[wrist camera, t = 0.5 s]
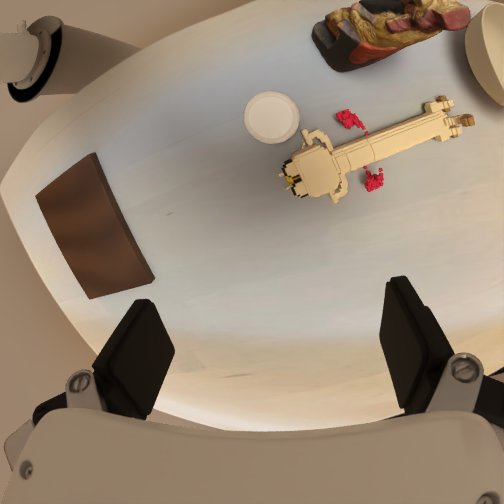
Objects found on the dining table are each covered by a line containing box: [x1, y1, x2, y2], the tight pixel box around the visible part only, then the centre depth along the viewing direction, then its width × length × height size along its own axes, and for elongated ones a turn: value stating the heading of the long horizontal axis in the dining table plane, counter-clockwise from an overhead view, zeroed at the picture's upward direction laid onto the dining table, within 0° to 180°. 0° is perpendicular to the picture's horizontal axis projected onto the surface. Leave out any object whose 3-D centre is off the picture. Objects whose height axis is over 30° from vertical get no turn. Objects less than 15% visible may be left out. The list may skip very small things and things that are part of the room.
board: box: [35, 153, 155, 300], centre depth 39 cm, size 22×16×2 cm
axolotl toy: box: [278, 95, 475, 204], centre depth 26 cm, size 10×9×25 cm
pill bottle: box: [244, 91, 300, 144], centre depth 26 cm, size 5×5×10 cm
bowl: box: [465, 2, 504, 107], centre depth 16 cm, size 16×16×10 cm
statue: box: [312, 0, 470, 72], centre depth 15 cm, size 12×8×20 cm, turn 118°
